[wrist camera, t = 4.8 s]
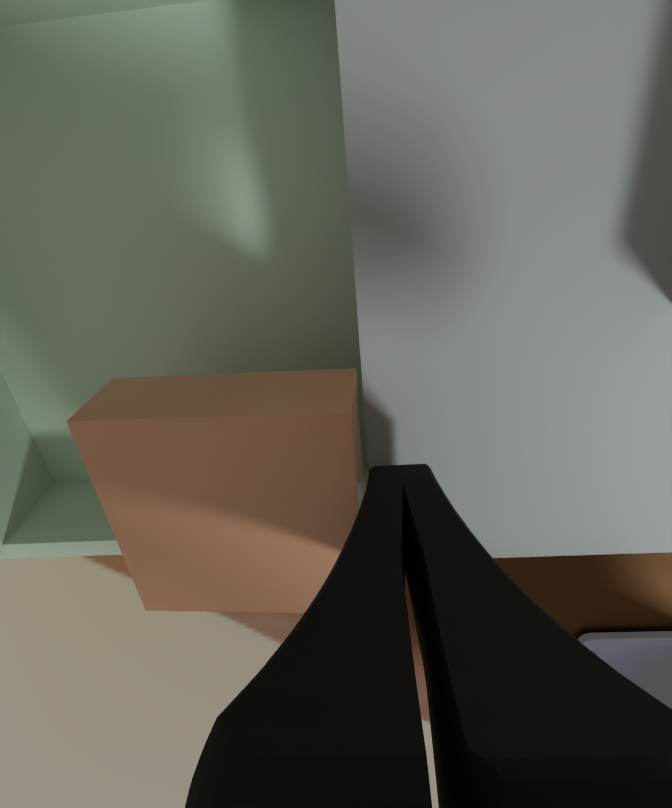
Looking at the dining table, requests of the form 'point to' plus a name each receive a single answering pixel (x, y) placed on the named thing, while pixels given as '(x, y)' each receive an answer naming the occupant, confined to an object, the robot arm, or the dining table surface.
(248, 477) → the terracotta tile
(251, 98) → the tray
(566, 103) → the board
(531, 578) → the dining table surface
